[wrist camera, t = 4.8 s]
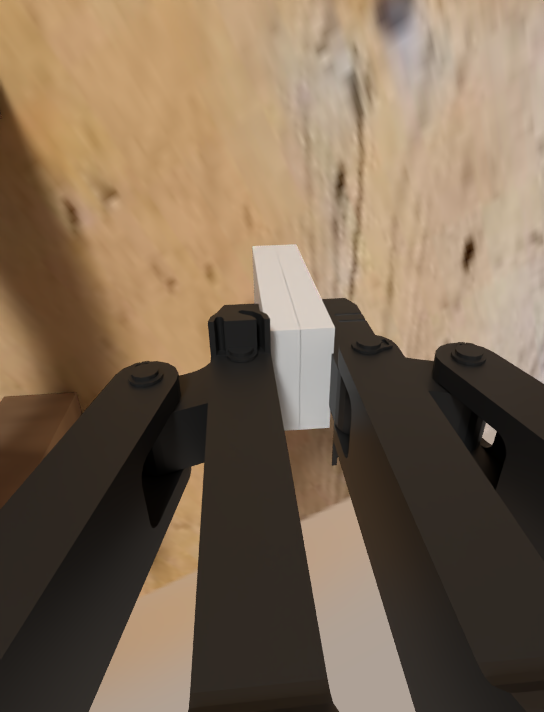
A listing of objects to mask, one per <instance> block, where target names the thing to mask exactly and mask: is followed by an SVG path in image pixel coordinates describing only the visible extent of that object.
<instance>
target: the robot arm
mask: <svg viewBox="0 0 544 712" xmlns="http://www.w3.org/2000/svg"><path fill="white" fill-rule="evenodd" d="M252 252H253V278H254V304H239V305H224V306H223V307H222V308H221V309H220V310H219V311H218V312H217V313H216V314H214V315H213V316H211V317H210V319H209V321H208V329H209V340H210V351H211V362H210V363H209V364H208V365H207V366H205V367H204V368H202V369H200V370H198V371H195V372H192V373H188V374H184V375H180V376H179V374H178V372H177V370H176V368H175V367H174V366H172V365H170V364H168V363H164V362H158V361H154V362H150V361H145V362H142V363H140V362H139V363H136V364H133V365H131V366H129V367H127V368H124V369H122V370H121V371H120V372H119V373H117V374H116V375H115V376H114V377H113V379H112V380H111V381H110V382H109V383H108V384H107V386H106V387H105V388H104V389H103V390H102V391H101V393H100V394H99V395H98V396H97V397H96V398H95V400H94V401H93V402H92V403H91V404H90V405H89V407H88V408H87V409H86V410H85V411H84V412H83V414H82V415H81V416H80V417H79V418H78V419H77V421H76V422H75V423H74V424H73V425H72V426H71V428H70V429H69V430H68V431H67V432H66V433H65V435H64V436H63V437H62V438H61V439H60V440H59V442H58V443H57V444H56V445H55V446H54V447H53V449H52V450H51V451H50V452H49V453H48V454H47V456H46V457H45V458H44V459H43V460H42V461H41V463H40V464H39V465H38V466H37V467H36V468H35V470H34V471H33V472H32V473H31V474H30V475H29V477H28V478H27V479H26V480H25V481H24V482H23V484H22V485H21V486H20V487H19V488H18V489H17V491H16V492H15V493H14V494H13V495H12V496H11V498H10V499H9V500H8V501H7V502H6V503H5V505H4V506H3V507H2V508H1V509H0V712H89V710H90V707H91V705H92V703H93V700H94V698H95V696H96V693H97V691H98V689H99V686H100V684H101V682H102V680H103V677H104V675H105V672H106V670H107V668H108V666H109V663H110V661H111V659H112V656H113V654H114V652H115V649H116V647H117V645H118V642H119V640H120V638H121V635H122V633H123V631H124V629H125V626H126V624H127V622H128V619H129V617H130V615H131V612H132V610H133V608H134V605H135V603H136V601H137V598H138V596H139V594H140V591H141V589H142V587H143V585H144V582H145V580H146V578H147V575H148V573H149V571H150V568H151V566H152V564H153V561H154V559H155V557H156V554H157V552H158V550H159V547H160V545H161V543H162V540H163V538H164V536H165V534H166V531H167V529H168V527H169V524H170V522H171V520H172V517H173V515H174V513H175V510H176V508H177V506H178V503H179V501H180V499H181V496H182V494H183V492H184V489H185V487H186V485H187V483H188V480H189V478H190V474H191V466H194V465H198V464H201V463H204V478H203V494H202V510H201V526H200V543H199V559H198V575H197V591H196V608H195V623H194V624H195V625H194V641H193V656H192V672H191V688H190V701H189V710H188V712H339V711H338V709H337V708H336V706H335V705H334V704H333V701H332V697H331V694H330V689H329V684H328V679H327V673H326V668H325V662H324V656H323V651H322V645H321V639H320V633H319V627H318V622H317V616H316V610H315V604H314V599H313V593H312V587H311V581H310V576H309V570H308V564H307V558H306V552H305V547H304V541H303V535H302V529H301V524H300V518H299V512H298V506H297V500H296V495H295V489H294V483H293V477H292V472H291V466H290V460H289V454H288V449H287V443H286V437H285V431H287V430H302V429H317V428H329V426H330V410H331V413H332V416H333V419H334V434H333V450H332V465H337V458H338V457H339V461H340V464H341V467H342V470H343V474H344V477H345V480H346V484H347V487H348V490H349V494H350V497H351V500H352V503H353V507H354V510H355V513H356V516H357V520H358V523H359V526H360V530H361V533H362V536H363V540H364V543H365V546H366V549H367V553H368V556H369V559H370V562H371V566H372V569H373V573H374V576H375V579H376V582H377V586H378V589H379V592H380V596H381V599H382V602H383V606H384V609H385V612H386V615H387V619H388V622H389V625H390V629H391V632H392V635H393V638H394V642H395V645H396V648H397V652H398V655H399V658H400V661H401V665H402V668H403V671H404V674H405V678H406V681H407V684H408V688H409V691H410V694H411V698H412V701H413V704H414V707H415V711H416V712H544V384H543V383H541V382H540V381H538V380H537V379H535V378H533V377H532V376H530V375H529V374H527V373H525V372H524V371H522V370H521V369H519V368H518V367H516V366H514V365H513V364H511V363H510V362H508V361H507V360H505V359H503V358H502V357H500V356H499V355H497V354H496V353H494V352H492V351H490V350H488V349H486V348H484V347H480V346H477V345H475V344H472V343H465V342H458V343H450V344H446V345H443V346H440V347H439V348H438V349H437V350H436V353H435V358H434V361H428V360H419V359H412V358H406V357H405V356H404V355H403V354H402V352H401V351H400V349H399V348H398V346H397V345H396V344H395V343H394V342H393V341H391V340H389V339H387V338H385V337H382V336H377V335H375V334H374V332H373V331H372V329H371V328H370V326H369V324H368V323H367V321H365V318H364V316H363V315H362V314H361V312H360V310H359V308H358V307H357V305H356V304H354V303H352V302H351V301H349V300H347V299H346V298H337V299H321V297H320V295H319V292H318V290H317V288H316V286H315V284H314V282H313V280H312V277H311V275H310V273H309V271H308V269H307V267H306V265H305V262H304V260H303V258H302V256H301V254H300V252H299V250H298V247H297V245H296V244H294V245H269V246H252ZM486 423H488V424H489V425H490V426H491V427H492V428H494V429H495V430H496V431H497V433H496V436H495V440H494V443H493V444H492V445H491V444H489V443H488V442H486V441H485V440H484V439H483V438H482V435H483V432H484V428H485V424H486Z"/></svg>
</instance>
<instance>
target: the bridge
mask: <svg viewBox="0 0 544 712" xmlns="http://www.w3.org/2000/svg"><path fill="white" fill-rule="evenodd" d="M0 119H2V116H1V113H0ZM81 415H82V411H81V408H80V404H79V400H78V397H77V393H59V394H42V395H25V396H8V397H4V398H3V399H2V401H1V402H0V509H1V508H2V507H3V506H4V505H5V503H6V502H7V501H8V500H9V499H10V498H11V496H12V495H13V494H14V493H15V492H16V491H17V489H18V488H19V487H20V486H21V485H22V484H23V482H24V481H25V480H26V479H27V478H28V477H29V475H30V474H31V473H32V472H33V471H34V470H35V468H36V467H37V466H38V465H39V464H40V463H41V461H42V460H43V459H44V458H45V457H46V456H47V454H48V453H49V452H50V451H51V450H52V449H53V447H54V446H55V445H56V444H57V443H58V442H59V440H60V439H61V438H62V437H63V436H64V435H65V433H66V432H67V431H68V430H69V429H70V428H71V426H72V425H73V424H74V423H75V422H76V421H77V419H78V418H79V417H80V416H81Z"/></svg>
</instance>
